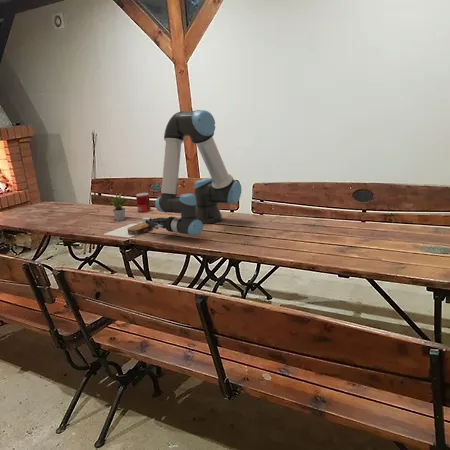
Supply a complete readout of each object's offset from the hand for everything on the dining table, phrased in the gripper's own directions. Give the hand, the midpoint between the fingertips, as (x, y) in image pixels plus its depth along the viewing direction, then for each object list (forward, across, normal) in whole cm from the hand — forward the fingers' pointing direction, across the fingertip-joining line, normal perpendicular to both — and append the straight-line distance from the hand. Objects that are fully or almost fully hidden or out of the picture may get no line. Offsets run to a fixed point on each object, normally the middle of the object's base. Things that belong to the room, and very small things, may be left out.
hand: (143, 220), depth 238 cm
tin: (-1, 0, -5) cm, 5 cm away
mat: (+10, -2, -6) cm, 12 cm away
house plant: (+36, +12, -6) cm, 39 cm away
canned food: (+39, +34, -6) cm, 52 cm away
